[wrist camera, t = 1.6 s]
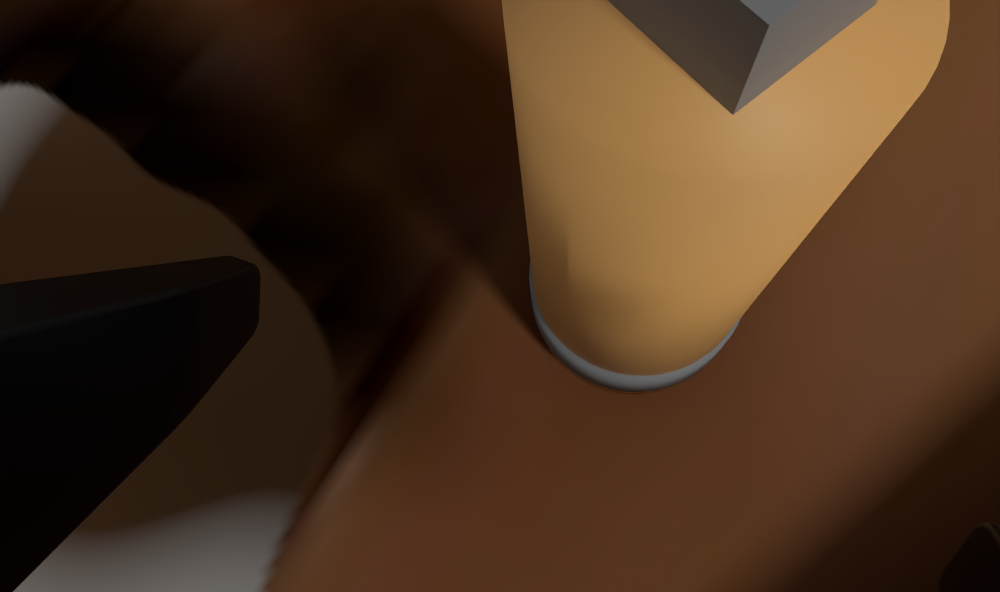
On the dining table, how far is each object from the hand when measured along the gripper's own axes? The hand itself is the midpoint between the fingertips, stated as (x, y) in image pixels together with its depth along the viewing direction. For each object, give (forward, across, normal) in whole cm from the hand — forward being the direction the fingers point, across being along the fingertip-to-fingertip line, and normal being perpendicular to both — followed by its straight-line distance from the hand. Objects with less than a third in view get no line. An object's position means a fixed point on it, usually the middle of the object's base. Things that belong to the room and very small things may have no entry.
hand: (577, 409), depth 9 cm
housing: (+12, 0, +5) cm, 13 cm away
